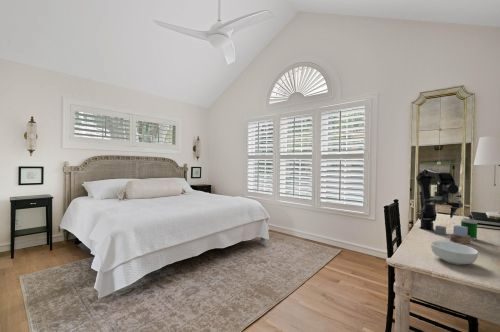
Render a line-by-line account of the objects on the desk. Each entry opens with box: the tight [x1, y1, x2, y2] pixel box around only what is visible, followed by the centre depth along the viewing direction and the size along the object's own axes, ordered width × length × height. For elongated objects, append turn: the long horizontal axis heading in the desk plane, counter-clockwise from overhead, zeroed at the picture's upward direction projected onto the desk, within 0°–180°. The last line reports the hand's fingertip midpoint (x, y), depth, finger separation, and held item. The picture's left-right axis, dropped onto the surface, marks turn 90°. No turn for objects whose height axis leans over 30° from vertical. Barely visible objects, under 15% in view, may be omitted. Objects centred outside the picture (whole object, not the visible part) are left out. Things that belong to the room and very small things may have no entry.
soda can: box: [460, 217, 478, 241], centre depth 151 cm, size 8×8×12 cm
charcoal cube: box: [434, 225, 447, 236], centre depth 159 cm, size 5×5×5 cm
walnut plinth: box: [449, 233, 471, 245], centre depth 144 cm, size 7×7×4 cm
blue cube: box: [452, 224, 468, 237], centre depth 144 cm, size 5×5×5 cm
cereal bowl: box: [430, 240, 479, 266], centre depth 114 cm, size 17×17×7 cm
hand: (442, 216), depth 153 cm, fingers open, 9 cm apart
